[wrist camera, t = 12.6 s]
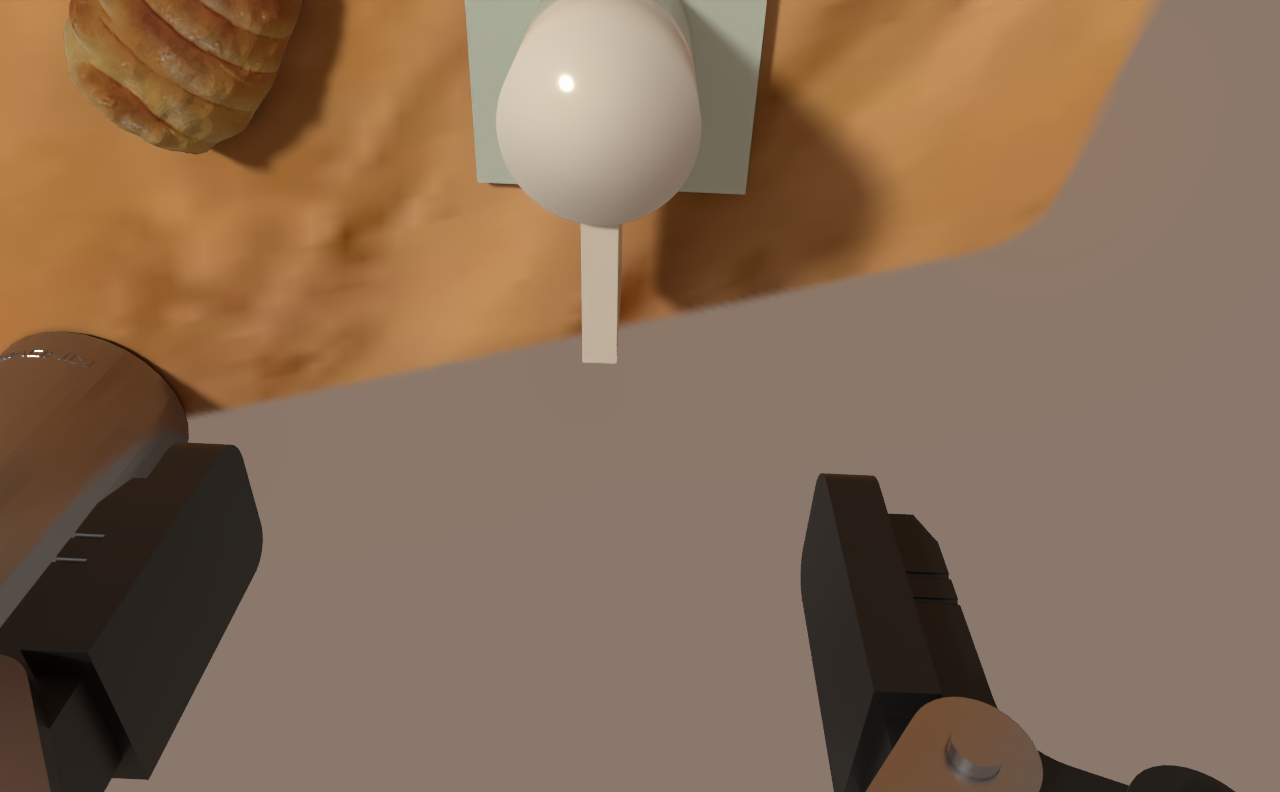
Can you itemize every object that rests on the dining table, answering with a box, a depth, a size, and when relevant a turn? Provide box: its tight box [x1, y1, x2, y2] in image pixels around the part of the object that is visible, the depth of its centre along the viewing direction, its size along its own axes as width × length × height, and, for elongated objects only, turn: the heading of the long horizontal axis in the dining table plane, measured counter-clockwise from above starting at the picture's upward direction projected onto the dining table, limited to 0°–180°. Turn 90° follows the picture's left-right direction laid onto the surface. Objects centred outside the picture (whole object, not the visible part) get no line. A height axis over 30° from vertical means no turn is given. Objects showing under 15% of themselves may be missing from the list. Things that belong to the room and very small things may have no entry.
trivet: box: [465, 0, 767, 195], centre depth 34 cm, size 11×11×1 cm
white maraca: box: [496, 0, 701, 363], centre depth 31 cm, size 12×6×9 cm, turn 178°
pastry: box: [63, 0, 303, 154], centre depth 32 cm, size 9×7×4 cm
